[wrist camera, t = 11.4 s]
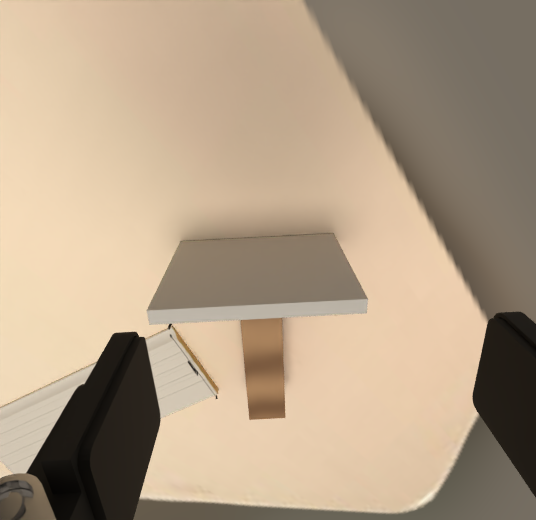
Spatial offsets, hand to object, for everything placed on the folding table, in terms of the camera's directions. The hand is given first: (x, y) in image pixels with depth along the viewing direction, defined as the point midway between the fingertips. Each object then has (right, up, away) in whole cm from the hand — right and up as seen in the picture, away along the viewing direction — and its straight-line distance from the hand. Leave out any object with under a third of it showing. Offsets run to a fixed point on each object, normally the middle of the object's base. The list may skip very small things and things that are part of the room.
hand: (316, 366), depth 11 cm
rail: (-2, -5, +35) cm, 35 cm away
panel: (-2, +2, +32) cm, 32 cm away
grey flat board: (-24, -15, +40) cm, 49 cm away
